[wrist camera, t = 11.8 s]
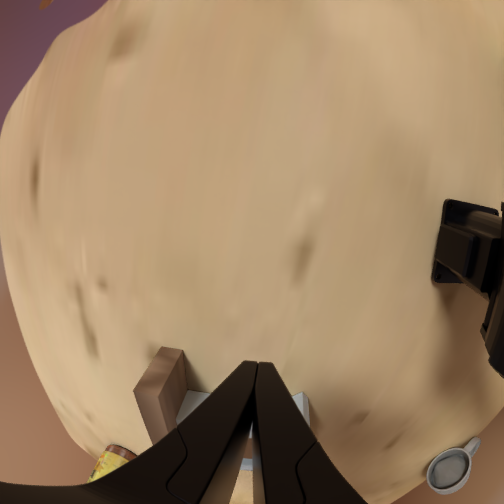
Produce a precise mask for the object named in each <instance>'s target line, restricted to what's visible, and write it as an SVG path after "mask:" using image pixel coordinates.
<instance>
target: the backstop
mask: <svg viewBox="0 0 504 504" xmlns="http://www.w3.org/2000/svg"><path fill="white" fill-rule="evenodd" d="M187 391H188V387H187V380H186V373H185V366H184V358H183V350H179V349H173V348H167V347H161V348H160V349H159V351H158V353H157V354H156V356H155V357H154V359H153V360H152V362H151V363H150V365H149V366H148V368H147V370H146V371H145V373H144V374H143V376H142V377H141V379H140V380H139V382H138V384H137V385H136V387H135V388H134V390H133V392H134V395H135V398H136V401H137V404H138V407H139V410H140V413H141V415H142V418H143V421H144V423H145V426H146V429H147V431H148V434H149V436H150V439H151V441H152V444H153V445H154V444H156V443H157V442H158V441H159V440H160V439H162V438H163V437H164V436H165V435H167V434H168V433H169V432H170V431H171V430H172V429H173V428H176V426H177V422H176V417H177V415H178V413H179V410H180V408H181V405H182V403H183V401H184V398H185V396H186V393H187Z"/></svg>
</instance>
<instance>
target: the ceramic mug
mask: <svg viewBox="0 0 504 504" xmlns="http://www.w3.org/2000/svg"><path fill="white" fill-rule="evenodd" d="M480 444H481V439H479V438H477V437H474V438H472V439H471V440H470V441H469V443H468V444H467V445H466V446H465V447H464V448H451V449H448V450H445V451H444V452H442V453H440V454H439V455H438V456H437V457H435V458H434V460H433V461H432V462H431V464H430V465H429V467H428V470H427V475H426V479H427V483H428V485H429V486H430V488H432V489H433V490H434V491H436V492H437V493H439V494H450V493H453V492H455V491H457V490H458V489H460V488H461V487H462V486H463V485H464V484H465V483H466V481H467V480H468V478H469V475H470V471H471V465H472V461H471V458H472V456H473V455H474V454H475V452H476V451H477V449H478V448H479V445H480Z"/></svg>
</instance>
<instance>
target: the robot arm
mask: <svg viewBox="0 0 504 504" xmlns="http://www.w3.org/2000/svg"><path fill="white" fill-rule="evenodd" d="M449 203H450V204H451V207H450V208H449ZM501 211H502V217H499V213H498V210H496V209H493V208H489V207H485V206H480V205H476V204H471V203H467V202H462V201H457V200H452V199H446V200H445V201H444V204H443V213H442V221H441V226H440V231H439V237H438V243H437V249H436V254H435V262H434V267H433V271H432V279H433V280H434V281H435V282H437V283H465V284H466V285H467V286H469V287H470V288H472V289H473V290H474V291H476V292H477V293H478V294H480V295H481V296H482V297H483V298H485V299H486V300H487V301H489V305H488V309H487V313H486V317H485V320H484V323H483V324H482V326H481V330H480V332H481V334H482V337H483V339H484V341H485V346H486V349H487V351H488V354H489V356H490V357H489V359H488V361H489V363H490V365H491V366H492V367H493V369H494V370H495V371H496V372H497V373H499V375H500V376H501V377H503V378H504V202H501ZM438 274H439V276H438V277H437V278H436V276H437V275H438ZM251 427H252V468H253V503H254V504H368V503H367V502H366V501H365V500H364V499H363V498H362V497H361V496H360V495H359V494H358V493H357V492H356V490H355V489H354V488H353V487H352V486H351V485H350V484H349V483H348V482H347V481H346V479H345V478H344V477H343V476H342V475H341V473H340V472H339V471H338V470H337V468H336V467H335V466H334V464H333V463H332V462H331V460H330V459H329V457H328V456H327V454H326V453H325V451H324V450H323V448H322V446H321V445H320V443H319V442H317V438H316V437H315V435H314V433H313V432H312V430H311V428H310V427H309V425H308V423H307V422H306V420H305V418H304V417H303V415H302V413H301V411H300V410H299V408H298V406H297V405H296V403H295V401H294V399H293V398H292V396H291V394H290V393H289V391H288V389H287V387H286V386H285V384H284V382H283V380H282V379H281V377H280V375H279V373H278V371H277V370H276V368H275V366H274V364H273V363H271V362H259V363H257V362H256V361H247V360H245V361H243V362H242V363H241V364H240V365H239V366H238V367H237V368H236V369H235V370H234V371H233V372H232V373H231V374H230V375H229V376H228V377H227V378H226V379H225V380H224V381H223V382H222V383H221V384H220V385H219V386H218V387H217V388H216V389H215V390H214V391H213V392H212V393H211V394H210V395H209V396H208V397H207V398H206V399H205V400H204V401H203V402H202V403H201V404H199V405H198V406H197V407H196V408H195V409H194V410H193V411H192V412H191V413H190V414H189V415H188V416H187V417H186V418H184V419H183V420H182V421H181V422H180V423H179V424H178V425H177V426H176V428H173V429H172V430H171V431H170V432H169V433H168V434H167V435H165V436H164V437H163V438H162V439H160V440H159V441H158V442H157V443H156V444H154V445H153V446H152V447H150V448H149V449H147V450H146V451H144V452H143V453H141V454H140V455H138V456H137V457H135V458H134V459H132V460H130V461H129V462H127V463H125V464H124V465H122V466H120V467H118V468H117V469H115V470H113V471H111V472H110V473H108V474H106V475H104V476H102V477H101V478H99V479H96V480H94V481H91V482H89V483H85V484H81V485H73V486H39V485H22V484H13V483H6V482H1V481H0V504H229V502H230V499H231V496H232V493H233V490H234V487H235V483H236V480H237V477H238V474H239V470H240V467H241V464H242V460H243V457H244V454H245V450H246V447H247V443H248V440H249V436H250V432H251Z"/></svg>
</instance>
